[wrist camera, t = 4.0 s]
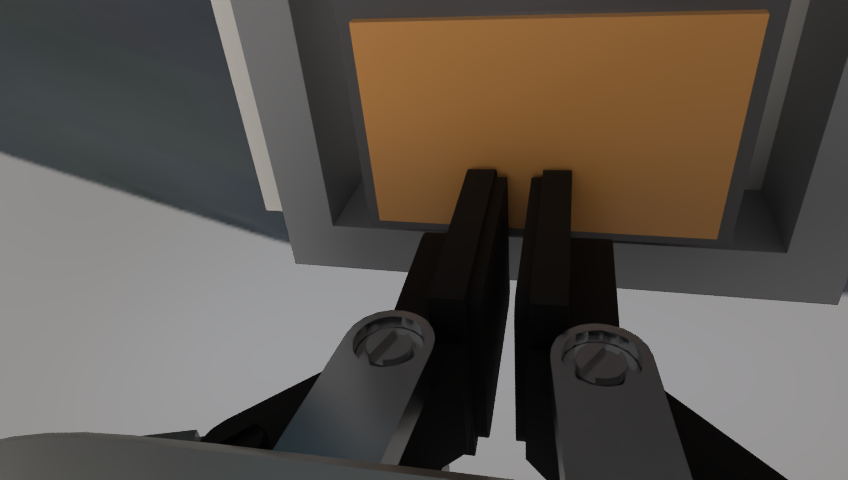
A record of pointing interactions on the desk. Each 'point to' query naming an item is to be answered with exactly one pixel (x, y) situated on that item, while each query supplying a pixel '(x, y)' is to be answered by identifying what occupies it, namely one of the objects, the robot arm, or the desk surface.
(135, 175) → the desk surface
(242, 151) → the desk surface
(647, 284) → the switch panel
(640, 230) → the rocker
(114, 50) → the desk surface
